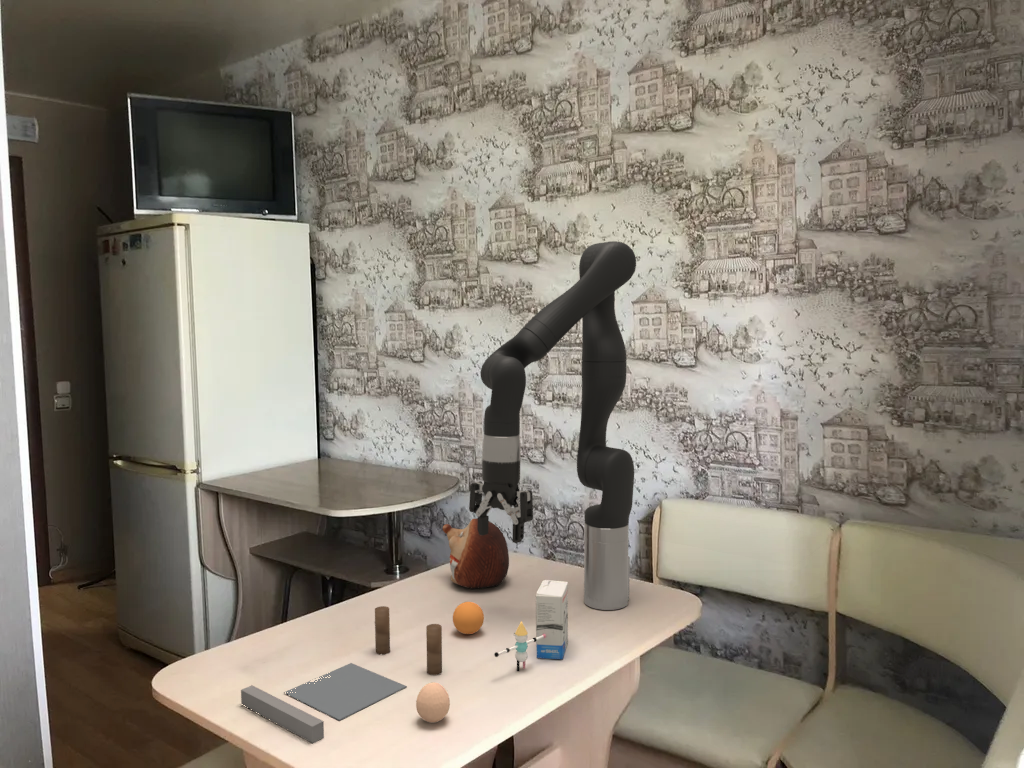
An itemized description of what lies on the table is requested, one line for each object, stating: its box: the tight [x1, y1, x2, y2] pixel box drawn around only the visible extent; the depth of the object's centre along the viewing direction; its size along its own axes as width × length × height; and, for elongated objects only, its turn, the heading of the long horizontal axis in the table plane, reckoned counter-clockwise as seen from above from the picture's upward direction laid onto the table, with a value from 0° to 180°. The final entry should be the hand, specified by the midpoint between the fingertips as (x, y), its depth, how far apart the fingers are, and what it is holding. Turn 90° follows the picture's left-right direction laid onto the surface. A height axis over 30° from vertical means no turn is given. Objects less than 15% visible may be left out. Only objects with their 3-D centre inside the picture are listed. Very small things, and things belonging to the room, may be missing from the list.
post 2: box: [425, 623, 443, 676], centre depth 140 cm, size 3×3×8 cm
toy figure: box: [493, 620, 546, 672], centre depth 141 cm, size 12×2×9 cm, turn 133°
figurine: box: [442, 517, 510, 590], centre depth 184 cm, size 14×16×15 cm
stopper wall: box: [240, 684, 325, 744], centre depth 124 cm, size 2×18×2 cm, turn 51°
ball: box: [452, 601, 485, 635], centre depth 157 cm, size 6×6×6 cm
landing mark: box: [283, 662, 407, 722], centre depth 134 cm, size 14×14×1 cm
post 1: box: [374, 605, 391, 655], centre depth 148 cm, size 3×3×8 cm
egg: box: [415, 682, 451, 724], centre depth 124 cm, size 5×5×6 cm
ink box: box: [535, 579, 569, 660], centre depth 149 cm, size 9×5×12 cm, turn 169°
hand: (500, 538), depth 162 cm, fingers open, 8 cm apart
